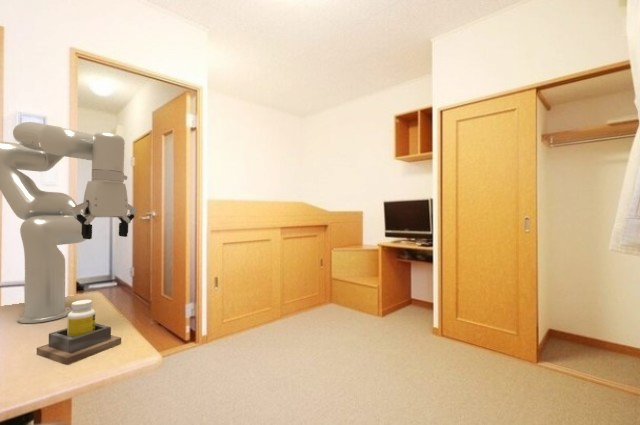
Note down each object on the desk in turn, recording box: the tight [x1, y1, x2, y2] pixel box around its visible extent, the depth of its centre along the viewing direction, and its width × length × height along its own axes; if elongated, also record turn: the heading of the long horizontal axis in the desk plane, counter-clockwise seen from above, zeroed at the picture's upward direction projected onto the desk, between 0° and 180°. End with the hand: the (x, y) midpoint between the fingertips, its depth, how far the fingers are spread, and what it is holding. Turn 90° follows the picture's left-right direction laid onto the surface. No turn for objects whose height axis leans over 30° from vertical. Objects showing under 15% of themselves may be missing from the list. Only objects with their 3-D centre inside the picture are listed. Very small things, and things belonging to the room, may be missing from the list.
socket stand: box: [36, 322, 122, 366], centre depth 76 cm, size 12×12×4 cm
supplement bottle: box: [66, 299, 96, 338], centre depth 76 cm, size 5×5×10 cm
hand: (105, 237), depth 89 cm, fingers open, 9 cm apart
